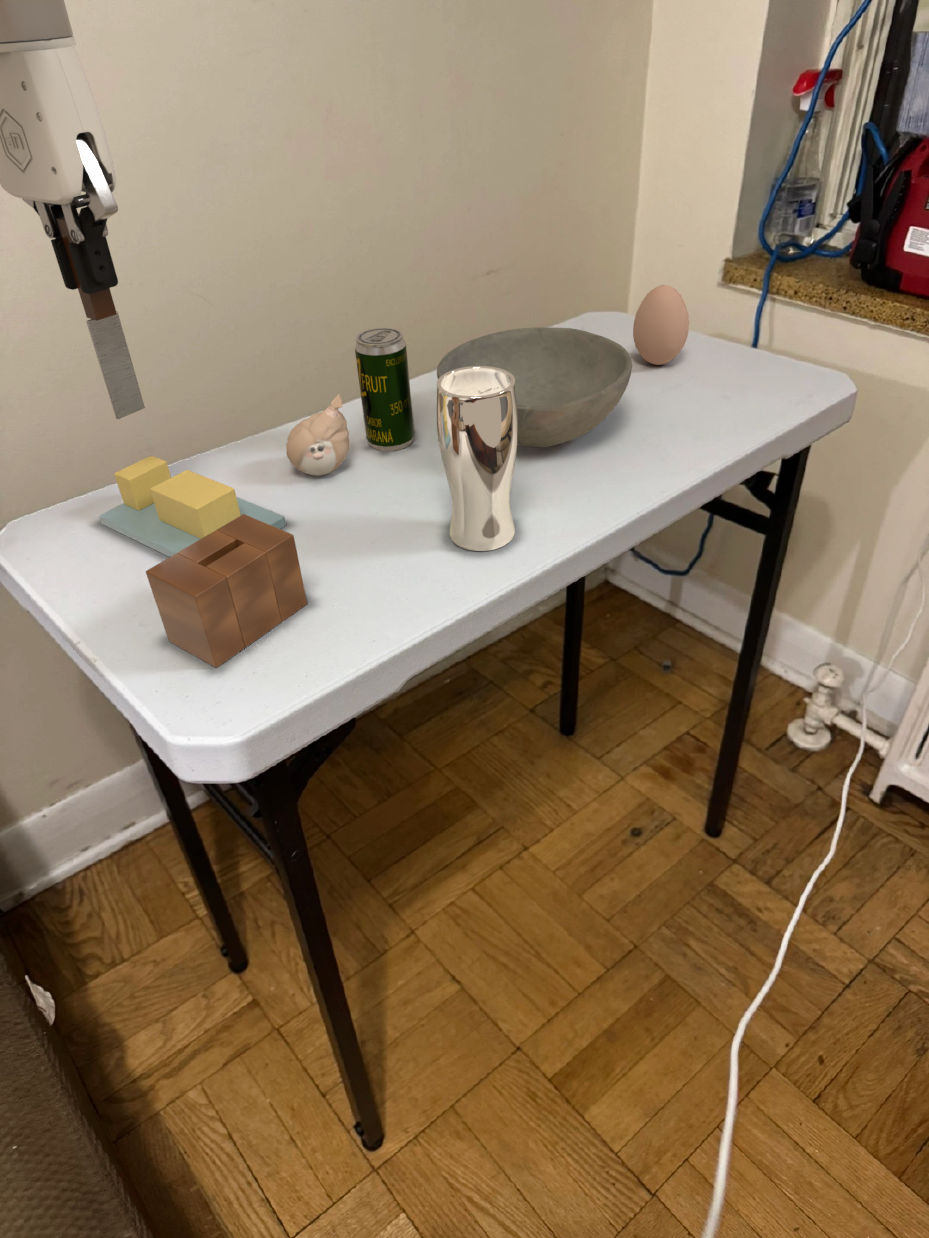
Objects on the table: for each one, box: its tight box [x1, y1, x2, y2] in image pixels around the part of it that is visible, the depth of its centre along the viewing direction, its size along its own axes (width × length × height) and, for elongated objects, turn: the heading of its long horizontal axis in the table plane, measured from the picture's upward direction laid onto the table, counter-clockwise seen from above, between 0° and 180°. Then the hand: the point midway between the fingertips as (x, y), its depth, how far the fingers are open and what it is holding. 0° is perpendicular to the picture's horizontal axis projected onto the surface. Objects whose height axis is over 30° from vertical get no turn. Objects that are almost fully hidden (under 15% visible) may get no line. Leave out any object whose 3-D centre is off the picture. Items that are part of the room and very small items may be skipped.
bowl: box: [436, 327, 633, 448], centre depth 95 cm, size 21×21×8 cm
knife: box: [57, 212, 146, 420], centre depth 75 cm, size 3×2×17 cm, turn 143°
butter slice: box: [113, 455, 172, 511], centre depth 86 cm, size 4×2×4 cm, turn 143°
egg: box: [632, 284, 690, 366], centre depth 108 cm, size 7×7×10 cm
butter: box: [150, 469, 241, 539], centre depth 83 cm, size 4×7×4 cm, turn 53°
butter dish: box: [98, 496, 287, 558], centre depth 85 cm, size 10×16×1 cm, turn 53°
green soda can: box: [354, 327, 415, 452], centre depth 93 cm, size 5×5×12 cm
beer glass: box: [436, 366, 519, 552], centre depth 76 cm, size 7×7×15 cm
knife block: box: [145, 514, 308, 669], centre depth 70 cm, size 10×6×7 cm, turn 143°
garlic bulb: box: [285, 393, 350, 476], centre depth 90 cm, size 7×6×8 cm
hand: (92, 286), depth 73 cm, fingers closed on knife, 1 cm apart
